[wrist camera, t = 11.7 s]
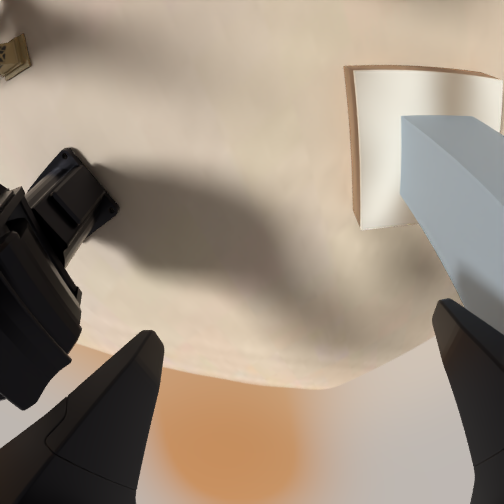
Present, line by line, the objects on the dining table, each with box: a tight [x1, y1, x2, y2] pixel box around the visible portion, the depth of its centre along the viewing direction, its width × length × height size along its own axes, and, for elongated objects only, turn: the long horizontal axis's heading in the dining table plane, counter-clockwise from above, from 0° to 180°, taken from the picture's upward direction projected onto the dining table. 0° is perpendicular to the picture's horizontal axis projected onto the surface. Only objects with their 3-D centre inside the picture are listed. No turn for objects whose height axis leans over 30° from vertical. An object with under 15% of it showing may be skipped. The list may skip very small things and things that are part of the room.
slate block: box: [400, 115, 504, 335], centre depth 11 cm, size 5×5×12 cm
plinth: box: [344, 65, 503, 230], centre depth 17 cm, size 10×10×2 cm
